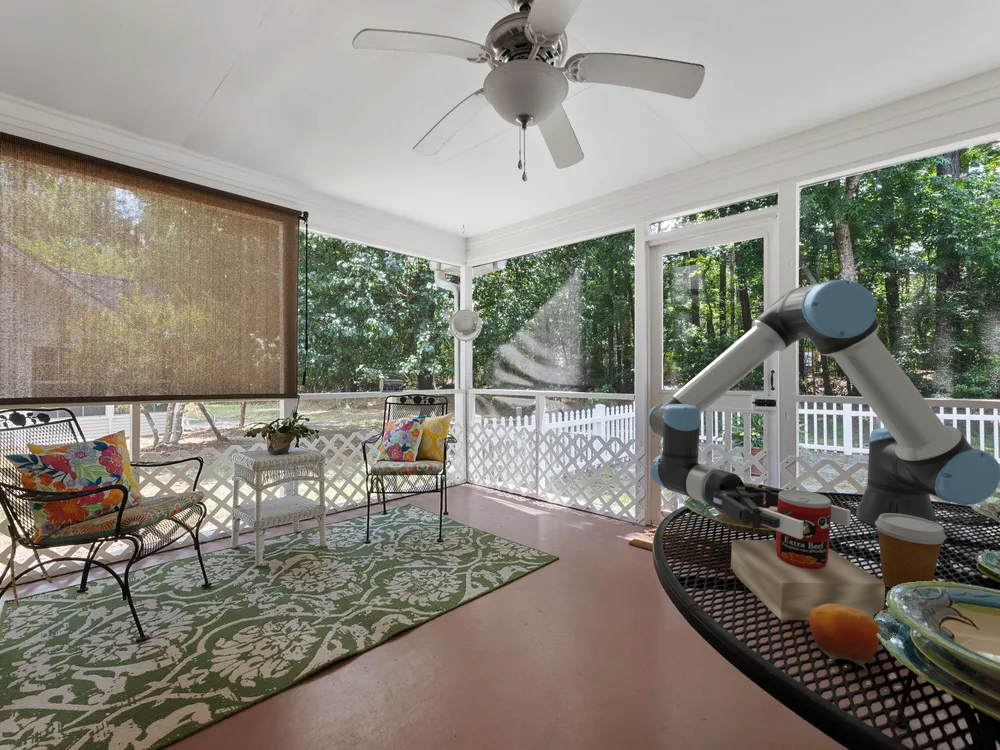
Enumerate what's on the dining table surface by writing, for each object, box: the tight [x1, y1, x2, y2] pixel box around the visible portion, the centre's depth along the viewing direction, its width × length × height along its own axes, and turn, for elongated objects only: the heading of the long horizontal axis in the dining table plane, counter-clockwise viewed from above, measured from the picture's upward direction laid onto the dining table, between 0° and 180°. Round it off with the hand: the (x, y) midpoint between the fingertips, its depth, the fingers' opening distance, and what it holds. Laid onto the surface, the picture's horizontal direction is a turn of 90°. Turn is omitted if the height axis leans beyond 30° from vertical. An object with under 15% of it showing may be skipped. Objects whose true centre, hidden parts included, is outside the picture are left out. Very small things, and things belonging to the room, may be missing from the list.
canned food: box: [775, 489, 832, 569], centre depth 82 cm, size 8×8×11 cm
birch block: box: [730, 539, 886, 621], centre depth 82 cm, size 16×16×6 cm
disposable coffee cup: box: [875, 513, 947, 589], centre depth 84 cm, size 10×10×12 cm
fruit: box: [809, 603, 882, 674], centre depth 66 cm, size 8×8×8 cm
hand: (826, 524), depth 78 cm, fingers open, 12 cm apart
